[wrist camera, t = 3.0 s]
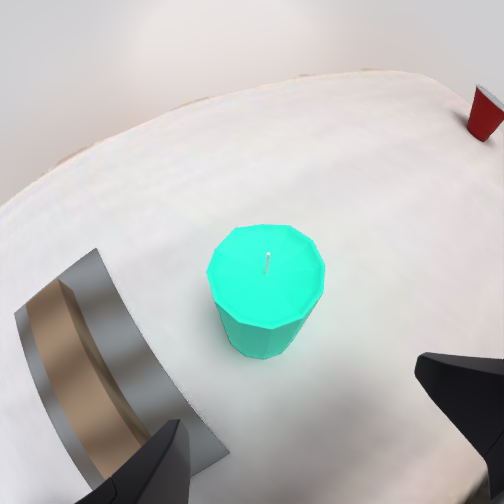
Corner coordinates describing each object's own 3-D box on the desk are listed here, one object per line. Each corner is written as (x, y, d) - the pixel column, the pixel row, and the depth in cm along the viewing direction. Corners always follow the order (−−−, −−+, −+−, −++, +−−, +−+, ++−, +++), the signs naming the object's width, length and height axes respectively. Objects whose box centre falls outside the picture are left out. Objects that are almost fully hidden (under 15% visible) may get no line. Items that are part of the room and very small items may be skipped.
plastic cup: (496, 156, 39) (518, 119, 28) (461, 132, 41) (480, 91, 31) (489, 136, 43) (506, 101, 33) (457, 114, 46) (472, 78, 36)
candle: (306, 309, 23) (348, 230, 13) (277, 371, 21) (304, 342, 10) (245, 281, 25) (240, 187, 14) (212, 339, 22) (176, 280, 12)
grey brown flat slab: (229, 452, 17) (226, 461, 14) (111, 512, 13) (95, 521, 10) (96, 249, 26) (83, 232, 24) (15, 314, 22) (-2, 303, 19)
